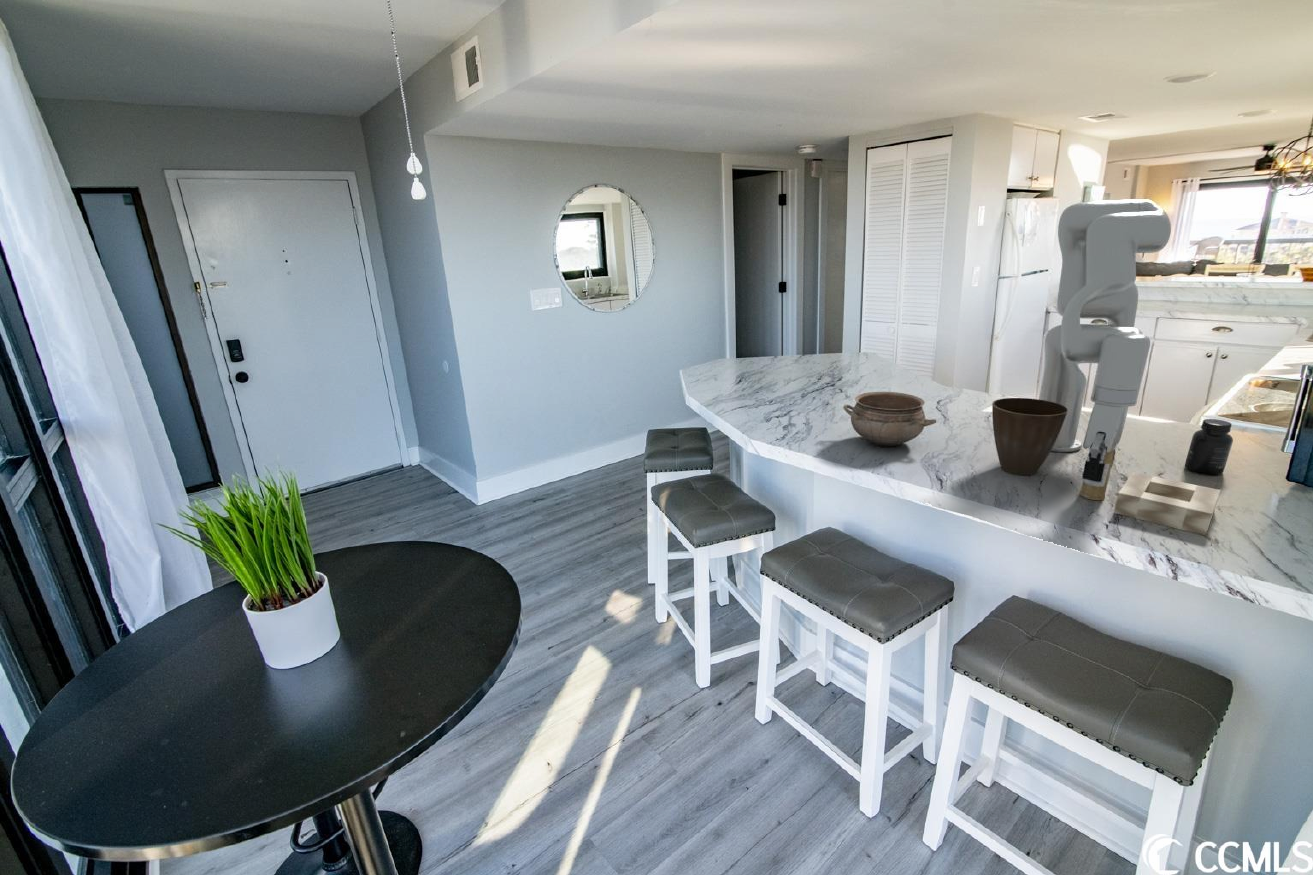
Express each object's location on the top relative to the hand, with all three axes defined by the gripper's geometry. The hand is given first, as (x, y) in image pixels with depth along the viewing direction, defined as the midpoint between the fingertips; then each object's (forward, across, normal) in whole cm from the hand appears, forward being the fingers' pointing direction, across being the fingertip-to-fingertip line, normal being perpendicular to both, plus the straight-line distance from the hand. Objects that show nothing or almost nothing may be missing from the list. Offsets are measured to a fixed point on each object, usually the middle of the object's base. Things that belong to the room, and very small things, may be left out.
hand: (1097, 473), depth 125 cm
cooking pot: (+6, -4, -48) cm, 49 cm away
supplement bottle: (+6, -32, +15) cm, 36 cm away
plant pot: (+6, -6, -16) cm, 18 cm away
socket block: (+5, -1, +12) cm, 13 cm away
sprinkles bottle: (+6, 0, 0) cm, 6 cm away
